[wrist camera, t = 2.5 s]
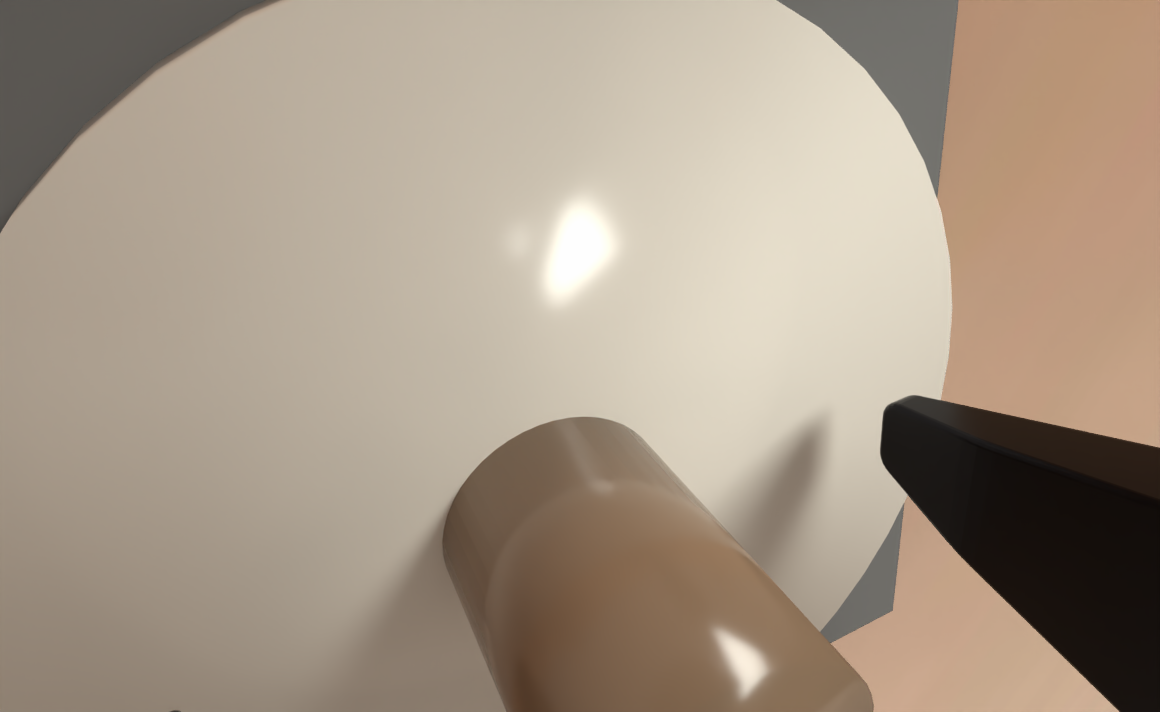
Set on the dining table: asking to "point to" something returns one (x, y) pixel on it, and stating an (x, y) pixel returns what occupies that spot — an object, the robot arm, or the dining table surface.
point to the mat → (199, 3)
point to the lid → (463, 365)
